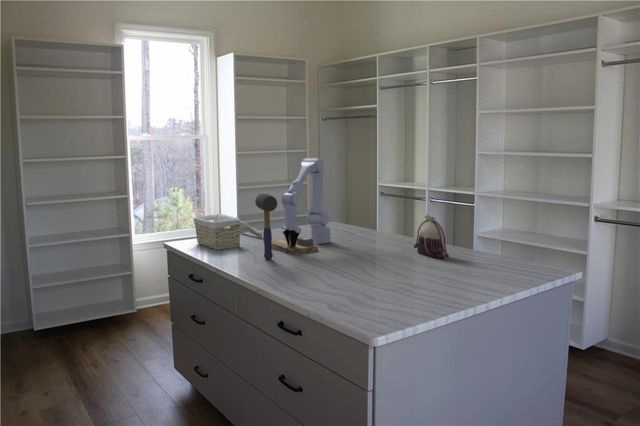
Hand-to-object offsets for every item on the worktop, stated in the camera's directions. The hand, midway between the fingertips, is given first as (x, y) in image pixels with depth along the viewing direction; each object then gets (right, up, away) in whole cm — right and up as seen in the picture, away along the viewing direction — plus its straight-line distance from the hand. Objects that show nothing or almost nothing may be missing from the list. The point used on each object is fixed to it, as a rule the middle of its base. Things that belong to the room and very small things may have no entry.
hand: (291, 245), depth 267 cm
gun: (-27, +3, +47) cm, 54 cm away
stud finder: (+6, 0, +4) cm, 8 cm away
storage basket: (-39, -1, +21) cm, 44 cm away
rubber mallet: (-10, -6, -15) cm, 19 cm away
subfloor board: (-1, -2, +7) cm, 8 cm away
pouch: (+64, -4, -16) cm, 66 cm away
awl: (0, -2, 0) cm, 2 cm away
